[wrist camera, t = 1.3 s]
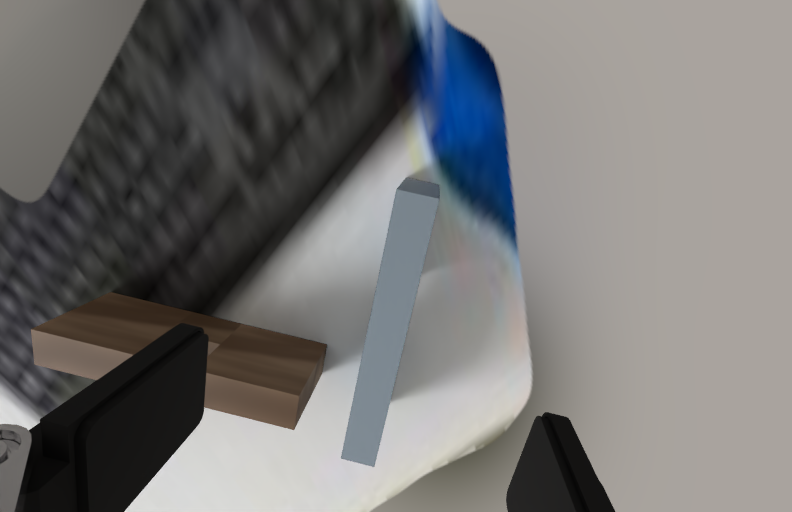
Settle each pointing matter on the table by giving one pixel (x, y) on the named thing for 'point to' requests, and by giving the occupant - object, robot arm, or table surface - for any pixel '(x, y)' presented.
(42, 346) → the slotted board
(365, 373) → the plain gray rectangular bar
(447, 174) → the table surface
